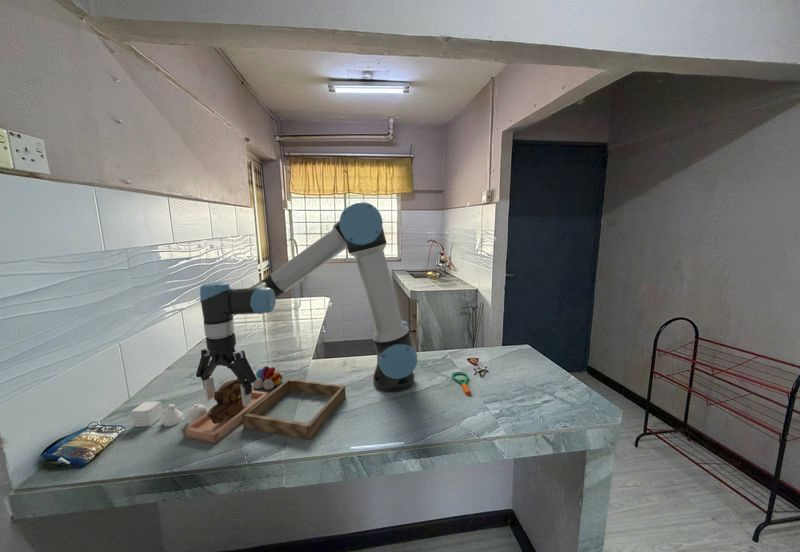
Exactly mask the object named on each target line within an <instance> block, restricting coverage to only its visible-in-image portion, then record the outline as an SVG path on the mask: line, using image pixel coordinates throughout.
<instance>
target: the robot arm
mask: <svg viewBox="0 0 800 552" xmlns="http://www.w3.org/2000/svg"><path fill="white" fill-rule="evenodd" d="M387 245H388V243H387V239H386V235H385V231H384V227H383V217H382V215H381V212H380V211H379V210H378V209H377V208H376V207H375V206H374V205H373V204H371V203H369V202H366V201H357V202H356V201H355V202H354V203H350V204H349V205H347V206H346V207H345V208H343V211H342V212H341V214H340V216H339V221H337V222H336V223H334V224H333V225H332V228H331V230H330V231H329V232H327V233H326V234H325V235H323V236H322V237H321V238H319V239H317V240H316V241H315V242H313V243H312V244H311V245H309V246H307V247H306V248H305V249H303V250H302V251H301V252H300V253H299V254H297V255H296V256H294V257H293V258H292V259H290V260H289V261H287V262H286V263H284V264H283V265H282V266H280V267H279V268H278V269H276V270H274V271H273V272H272V273H271V274H269V275H267V276H266V277H264V278H263V279H262V280H260V281H259V282H257V283H256V284H254V285H252V286H251V287H247V288H246V287H245V288H231V285H230V283H229V282H227V281H215V282H208V283H204V284H202V285H201V286H200V288H199V296H200V297H199V299H200V304H201V310H202V317H203V331H204V336H205V337H206V338H205V343H206V348H204V349H200V360H199V364H198V367H197V370H196V374H195V376H196V378H200V379H201V381H202V384H203V385H202V386H203V389H204V391H205V392H204V393H205V399H206V401H210V400H212V399H214V395H215V392H216V388H215V380H214V376H212V375H213V373H214V371H215V369H216V368H217V366H223V367H226V368H227V369H229V370H231V371H232V373H233V374H234V375H235V377H236V379H237V378H238V379H239V380H240V382H241V383H242V385H241V386H240V387H241V395H242V404H243V406H246V405H248V404H249V403H250V402H251V393H252V390H253V389H252V388H253V387H252V388H251V385H252V384H253V382H254V381H256V380H257V378H256V377H257V375H256V374H255V372H254V370H253V368H252V366H251V365H250V363H249V360H248V359H247V357H246V354H245V353H246V352H245V350H243V349H242V350H240V351H236V349H235V347H236V345H237V339H236V333H235V324H234V316H235V315H255V314H257V315H263V314H269V313H271V312H273V311H274V309H275V307H276V300H277V299H278V298H279V297H281V296H282V295H284V293H286V292H287V291H289V290H290V289H291V288H294V286H296V285H297V284H298V283H300V282H301V281H302V280H304V279H305V278H307V277H309V276H310V275H312V273H314V272H315V271H317V270H318V269H319V268H321V267H322V266H323V265H325V264H327V263H328V262H329V261H331V260H332V259H333V258H335V257H336V256H338V255H340V253H343V251H344V250H346V249H347V251H348V255H350V256H352V257H354V258H355V261H356V264H357V269H358V273H359V275H360V279H361V284H362V286H363V290H364V293H365V297H366V301H367V305H368V307H369V308H368V309H369V311H370V315H371V319H372V322H373V326H374V329H375V332H374V334H373V336H372V339H373V340H372V341H373V345H374V347H375V352H376V358H377V359H376V360H377V362H376V366H375V370H374V373H373V375H372V376H373V379H372V382H373V386H374V387H375V388H376V389H378V390H380V392H381V391H383V392H386V393H399V392H403V391H407V390H409V389H410V388H412V387H413V386H414V384H415V374H414V370H415V369H416V367H417V364H418V355H417V351H416V350H415V347H414V344H413V341H412V337H411V336H412V335H411V333H410V327H409V323H408V322H407V321H406V320H402V316H401V313H400V309H399V305H398V301H397V298H396V295H395V290H394V286H393V283H392V279H391V274H390V271H389V267H388V263H387V260H386V256H385V255H386V254H385V252H384V250H385V248H386V246H387Z"/></svg>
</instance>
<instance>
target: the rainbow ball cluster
mask: <svg viewBox="0 0 800 552" xmlns="http://www.w3.org/2000/svg"><path fill="white" fill-rule="evenodd" d="M275 370H276V368H275V367H274V366H272V367H270V366H267V365H265V366H263V367H262V368H261V369H258V370H256V374H255V376H256V378H257V380H256V381H254V382H253V383H252V387H253V388H255V390H259V389H263V388H264V389H265V390H266V391H269V390H270V391H271V390H273V388H274V387H275V386H278V385H280V384H281V382H282V381H283V379H284V376H283V374H282V372H280V371H275Z"/></svg>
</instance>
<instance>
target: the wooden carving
mask: <svg viewBox="0 0 800 552" xmlns="http://www.w3.org/2000/svg"><path fill="white" fill-rule="evenodd" d="M241 385H242V383H241V382H240V380H239V379H238V378H237V377H236V378H235V379H230V380H228V381H226V382H224V383H223V384H221V385H220V387H219V388H218V390H215V395H214V397H213V399H214V401H216V403H217V404H215V405H213V406H212V407H210V409H209V410H208V411H209V412H208V411H207V412H208V414H207V416H208V417H209V418H210V419H211V420H212V422H213V424H217V423H222V422H223V421H224V419H225V418H226V417H228V416H233V415H235V414H237V413H238V412H239V411H240V410H242V409H243V407H244V406H243V404H242V395H241V387H240V386H241ZM251 388H253V384H251Z"/></svg>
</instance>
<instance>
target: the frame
mask: <svg viewBox="0 0 800 552" xmlns="http://www.w3.org/2000/svg"><path fill="white" fill-rule="evenodd" d="M289 392H296V393H303V394H311V395H317V396H324V397H330V399H329V400H328V401H327V402H326V403H325V405H324V406H322V407H321V409H320V410H319V411H318V412H317V413H316V414H315V416H313V418H312V419H311V420H310V421H309V422H308V423H306V422H299V421H294V420H288V419H283V418H282V419H281V418H277V417H276V418H275V417H270V416H265V415H264V414H265V413H266V412H268V411H269V410H270V409H271V408H272V407H273V406H275V405H276V403H278V402H279V401H280V400H281V399H283V398H284V397H285V396H286V395H288V394H289ZM346 394H347V393H346V385H342V384H335V383H334V384H332V383H325V382H316V381H310V380H308V381H307V380H302V379H293V378H288V379H286V380H285V381H283V383H280V384H279V386H277V387H276V388H275V389H273V390H272V391H271V392H269V395H267V396H266V397H265V398H263V399H262V400H261V401H260V402H258V403H257V404H256V405H254V406H253V407H252V408H251V409H249V410H248V411H247V412H245V413H244V414H243V415H242V418H243V422H242V426H243V428H244V429H250V430H254V431H255V430H256V431H260V432H267V433H272V434H276V435H282V436H286V437H293V438H298V439H299V438H300V439H303V440H309V441H311V440H312V439H313V438H314V436H315V435H316V434H317V433H318V432H319V430H320V429H322V427H323V425H324V424H325V423H326V422H327V420H328V419H329V418H330V417H331V416H332V414H333V413H334V412H335V411H336V409H337V408H338V407H339V406H340V405H341V403H342V402H343V401H344V400H345V398H346V397H347V396H346ZM263 415H264V416H263Z"/></svg>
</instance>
